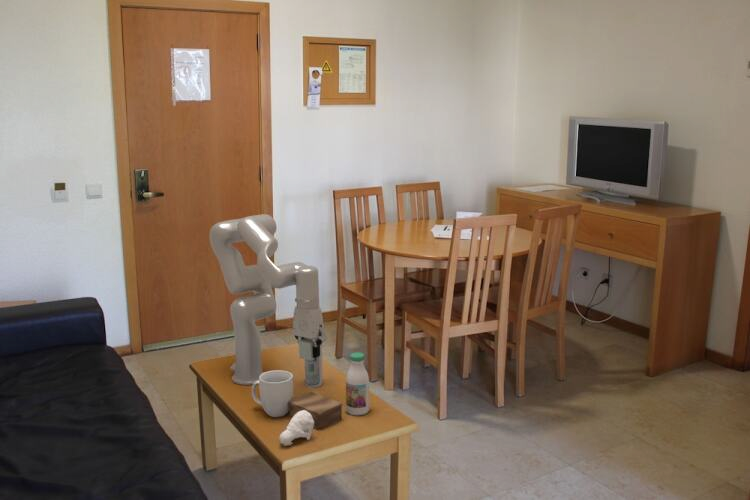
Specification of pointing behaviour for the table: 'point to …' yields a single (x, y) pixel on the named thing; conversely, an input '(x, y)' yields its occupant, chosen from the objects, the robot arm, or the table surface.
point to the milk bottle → (357, 386)
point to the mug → (274, 392)
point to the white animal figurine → (298, 427)
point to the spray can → (314, 371)
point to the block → (306, 349)
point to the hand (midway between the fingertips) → (309, 355)
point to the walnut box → (317, 409)
